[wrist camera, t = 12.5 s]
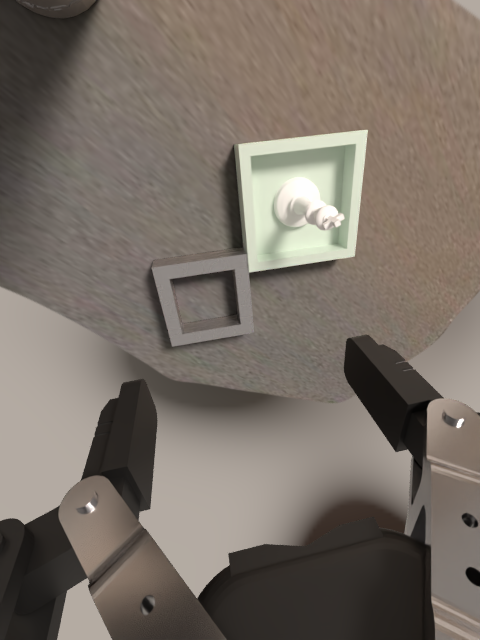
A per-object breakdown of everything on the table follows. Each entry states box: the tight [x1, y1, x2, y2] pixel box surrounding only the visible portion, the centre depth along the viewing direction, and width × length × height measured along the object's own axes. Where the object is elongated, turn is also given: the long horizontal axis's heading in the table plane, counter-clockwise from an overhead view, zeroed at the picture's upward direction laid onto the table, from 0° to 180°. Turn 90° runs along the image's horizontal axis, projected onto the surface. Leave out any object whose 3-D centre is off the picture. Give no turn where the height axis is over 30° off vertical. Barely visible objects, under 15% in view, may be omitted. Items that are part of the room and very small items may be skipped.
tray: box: [234, 130, 368, 273], centre depth 31 cm, size 12×12×3 cm
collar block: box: [152, 247, 254, 347], centre depth 35 cm, size 10×10×2 cm
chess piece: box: [274, 177, 345, 231], centre depth 28 cm, size 5×5×10 cm
